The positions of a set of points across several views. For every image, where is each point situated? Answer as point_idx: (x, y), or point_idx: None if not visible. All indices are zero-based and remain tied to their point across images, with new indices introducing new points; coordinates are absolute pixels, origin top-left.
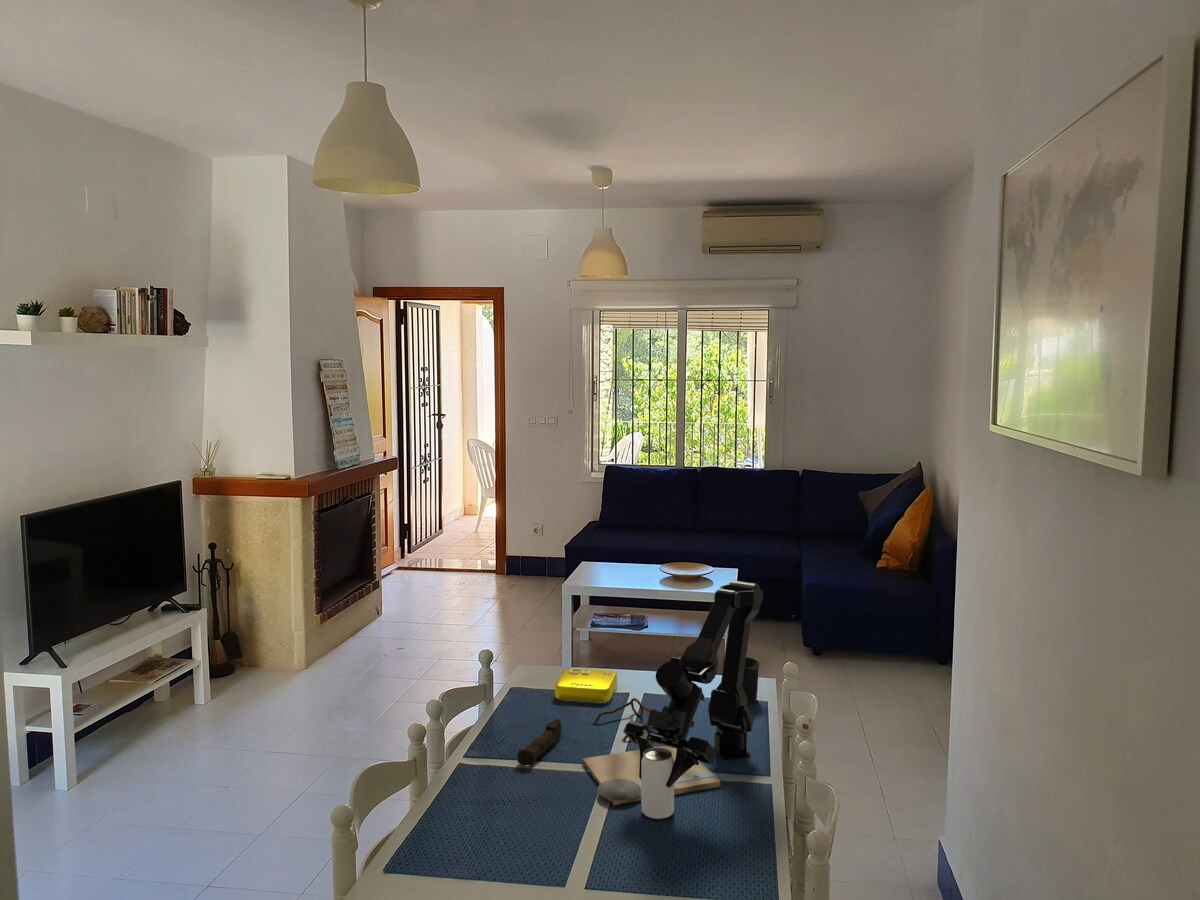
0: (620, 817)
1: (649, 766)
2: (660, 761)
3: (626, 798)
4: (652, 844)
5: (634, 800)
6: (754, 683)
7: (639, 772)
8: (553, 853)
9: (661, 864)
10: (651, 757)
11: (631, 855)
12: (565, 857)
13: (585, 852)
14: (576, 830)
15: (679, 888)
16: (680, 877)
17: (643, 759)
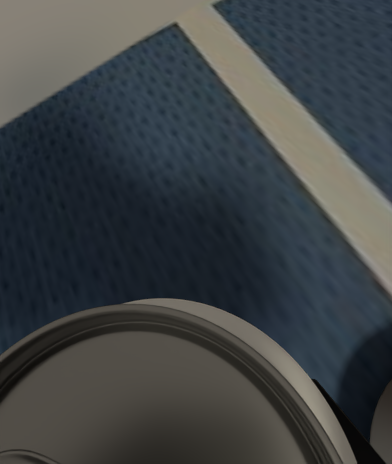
0: (318, 291)
1: (154, 300)
2: (11, 367)
3: (388, 401)
4: (133, 219)
5: None
6: None
7: (334, 403)
8: (322, 46)
9: (74, 164)
10: (165, 414)
11: (156, 148)
12: (285, 53)
13: (261, 91)
14: (368, 142)
15: (12, 125)
16: (20, 152)
17: (271, 358)
